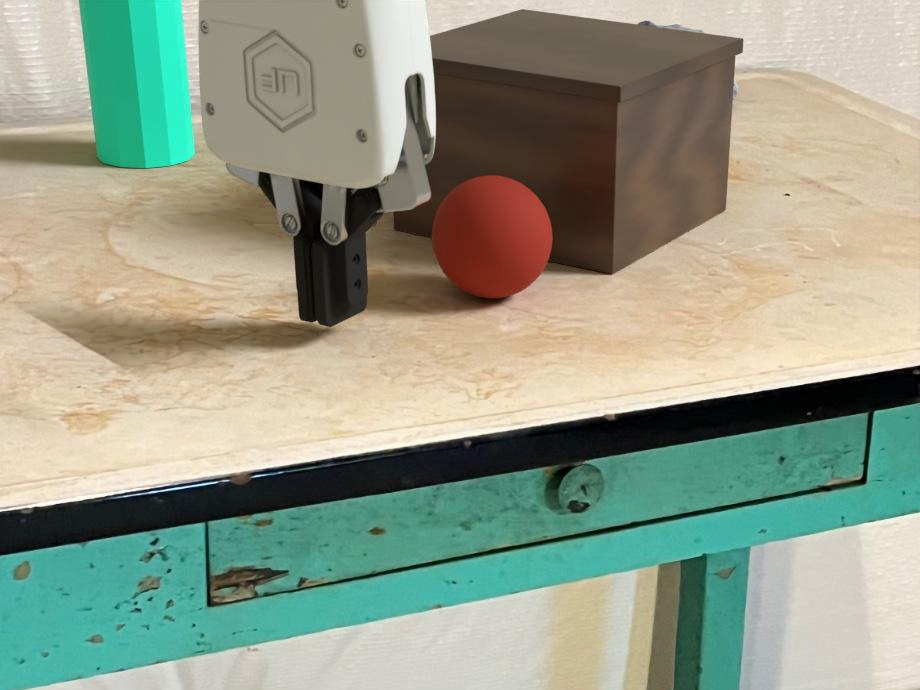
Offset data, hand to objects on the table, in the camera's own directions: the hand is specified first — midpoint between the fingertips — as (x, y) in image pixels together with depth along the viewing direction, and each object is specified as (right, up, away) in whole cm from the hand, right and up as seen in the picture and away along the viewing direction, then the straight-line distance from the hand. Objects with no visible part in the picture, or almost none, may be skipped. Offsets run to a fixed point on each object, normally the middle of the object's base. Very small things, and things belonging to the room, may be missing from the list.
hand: (333, 315), depth 80 cm
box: (+10, +8, +17) cm, 22 cm away
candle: (-16, +15, +27) cm, 35 cm away
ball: (+7, +5, +5) cm, 10 cm away
